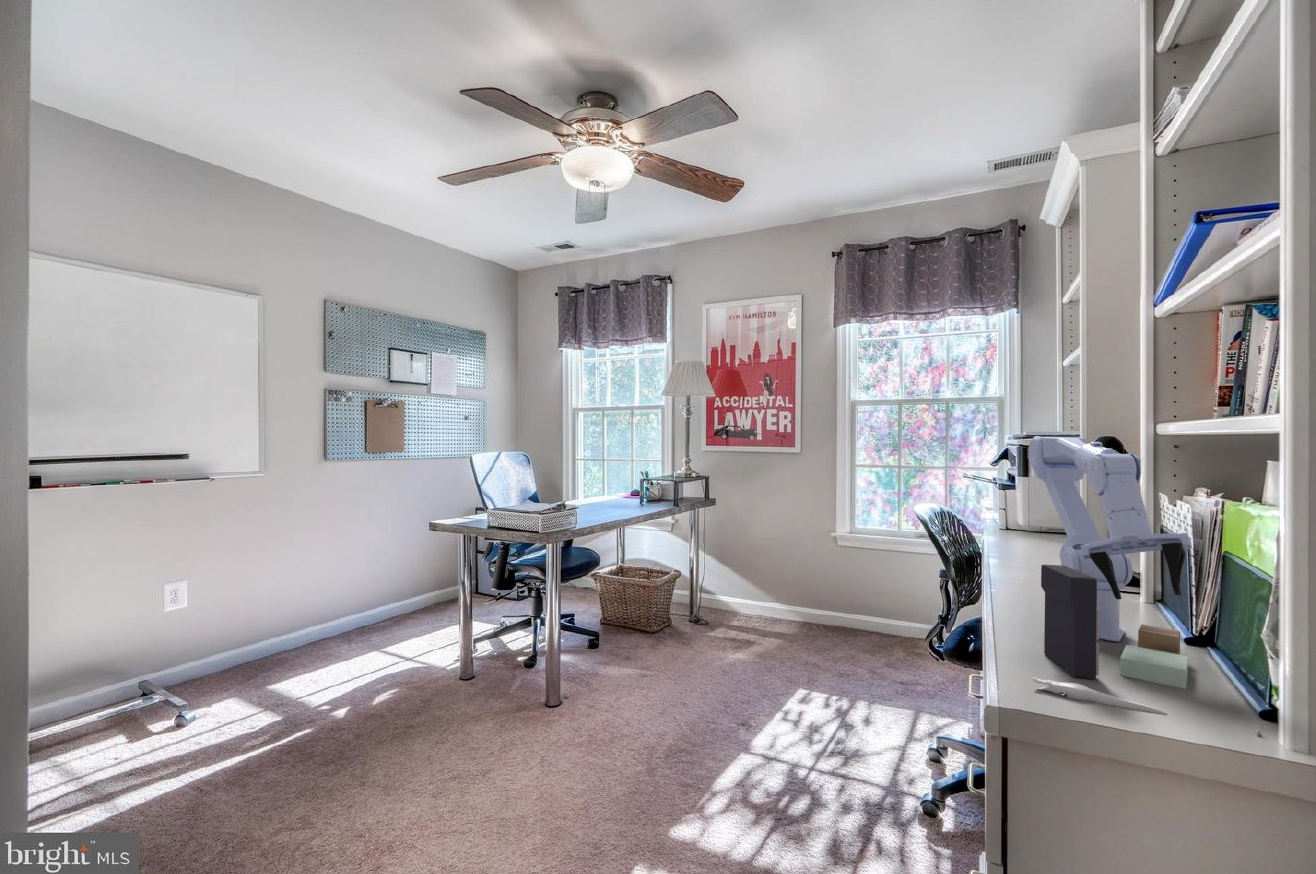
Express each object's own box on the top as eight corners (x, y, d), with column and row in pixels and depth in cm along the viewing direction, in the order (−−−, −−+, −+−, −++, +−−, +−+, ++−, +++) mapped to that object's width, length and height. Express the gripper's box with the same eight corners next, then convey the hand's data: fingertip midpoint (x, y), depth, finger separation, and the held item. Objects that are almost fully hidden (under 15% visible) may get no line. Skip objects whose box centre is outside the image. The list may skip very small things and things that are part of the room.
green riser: (1126, 663, 100) (1126, 644, 100) (1187, 675, 95) (1187, 655, 95) (1120, 677, 94) (1120, 657, 94) (1186, 691, 89) (1186, 670, 89)
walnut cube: (1141, 654, 104) (1141, 624, 104) (1180, 661, 101) (1180, 630, 101) (1138, 661, 101) (1138, 630, 101) (1178, 669, 97) (1178, 637, 97)
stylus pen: (1031, 691, 86) (1032, 677, 87) (1031, 685, 89) (1032, 672, 89) (1168, 724, 79) (1170, 709, 79) (1165, 716, 81) (1166, 702, 81)
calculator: (1102, 681, 91) (1103, 579, 91) (1069, 678, 92) (1070, 577, 92) (1068, 656, 102) (1069, 565, 102) (1039, 654, 103) (1040, 563, 103)
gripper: (1070, 515, 107) (1087, 591, 100) (1176, 499, 98) (1203, 582, 91) (1080, 530, 111) (1097, 604, 104) (1182, 516, 102) (1208, 597, 95)
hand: (1147, 595), depth 98 cm, fingers open, 7 cm apart
